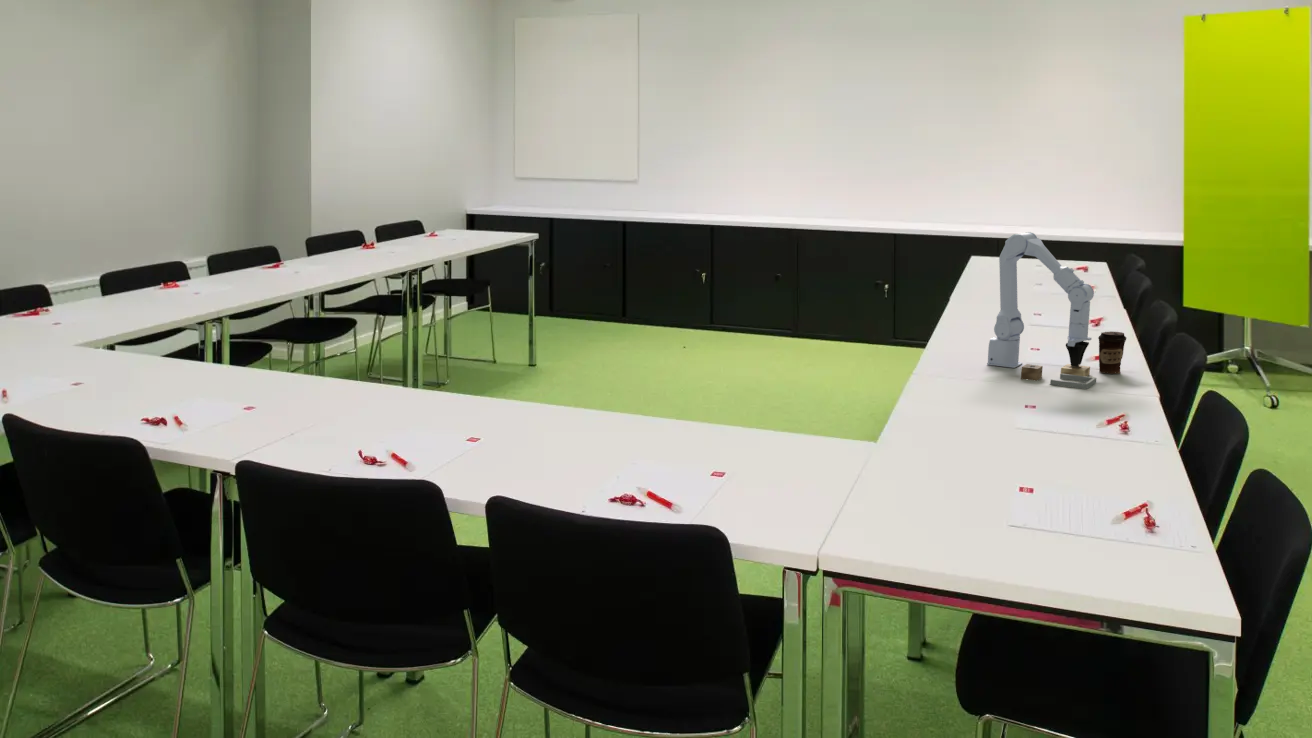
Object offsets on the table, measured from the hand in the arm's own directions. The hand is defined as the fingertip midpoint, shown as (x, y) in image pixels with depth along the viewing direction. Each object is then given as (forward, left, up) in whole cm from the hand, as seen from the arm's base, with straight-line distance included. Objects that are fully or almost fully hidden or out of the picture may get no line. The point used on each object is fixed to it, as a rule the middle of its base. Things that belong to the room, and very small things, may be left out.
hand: (1075, 365), depth 347 cm
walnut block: (-10, -12, -3) cm, 16 cm away
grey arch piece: (+2, -12, -3) cm, 13 cm away
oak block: (0, 0, -3) cm, 3 cm away
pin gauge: (0, 0, -2) cm, 2 cm away
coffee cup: (+8, +10, -3) cm, 13 cm away
